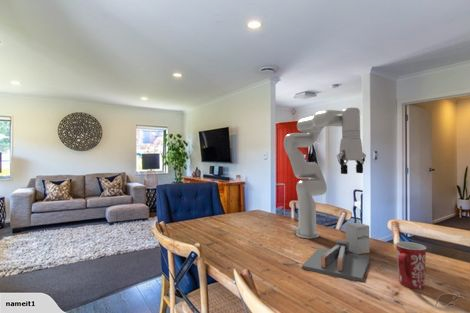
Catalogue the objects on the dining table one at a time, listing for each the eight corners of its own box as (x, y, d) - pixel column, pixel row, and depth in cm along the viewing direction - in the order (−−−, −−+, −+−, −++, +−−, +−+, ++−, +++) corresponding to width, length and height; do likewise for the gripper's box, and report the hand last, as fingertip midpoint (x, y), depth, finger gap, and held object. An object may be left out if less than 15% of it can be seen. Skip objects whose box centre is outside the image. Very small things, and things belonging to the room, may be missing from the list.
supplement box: (356, 255, 122) (356, 227, 122) (345, 249, 129) (345, 223, 129) (370, 253, 124) (369, 225, 124) (358, 247, 131) (358, 221, 131)
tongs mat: (301, 268, 108) (301, 265, 108) (318, 250, 128) (318, 247, 128) (362, 281, 96) (362, 278, 96) (370, 259, 116) (370, 256, 116)
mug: (403, 276, 100) (402, 239, 100) (431, 285, 93) (431, 246, 93) (385, 285, 93) (385, 246, 93) (415, 296, 86) (414, 254, 86)
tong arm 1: (320, 267, 106) (320, 256, 106) (336, 253, 120) (336, 244, 120) (324, 268, 105) (324, 257, 105) (340, 254, 119) (340, 245, 119)
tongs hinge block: (335, 253, 121) (335, 242, 121) (337, 251, 124) (337, 240, 124) (347, 255, 118) (347, 243, 118) (348, 253, 121) (348, 241, 121)
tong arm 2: (337, 270, 102) (337, 260, 102) (341, 254, 118) (341, 245, 118) (342, 271, 101) (342, 260, 101) (345, 255, 118) (345, 246, 118)
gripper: (357, 136, 129) (358, 172, 129) (330, 135, 121) (331, 173, 121) (371, 135, 122) (372, 173, 122) (343, 134, 115) (344, 174, 115)
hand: (352, 173), depth 122 cm, fingers open, 9 cm apart
